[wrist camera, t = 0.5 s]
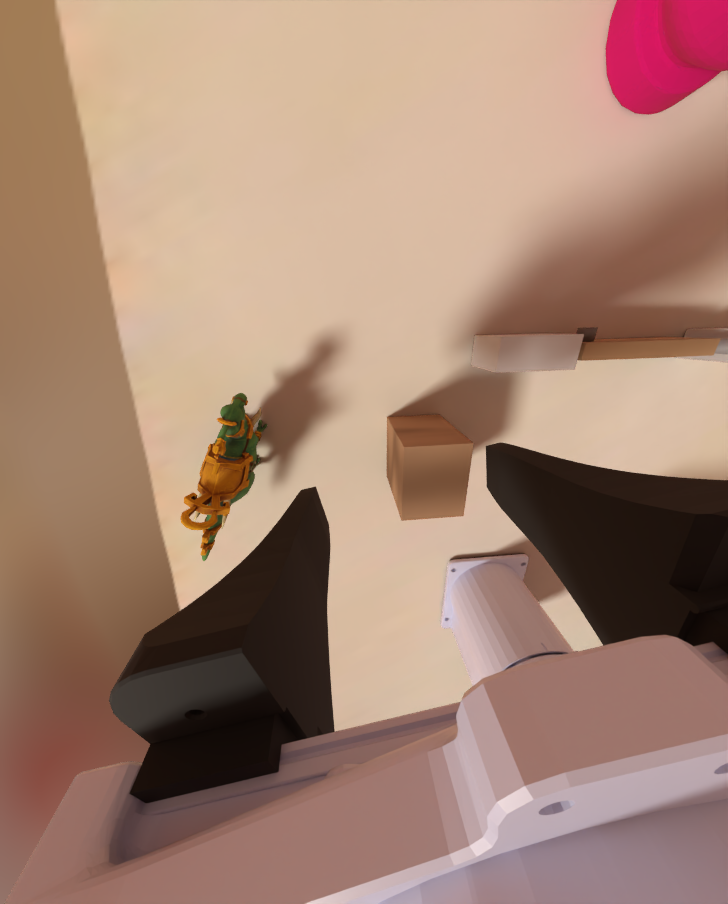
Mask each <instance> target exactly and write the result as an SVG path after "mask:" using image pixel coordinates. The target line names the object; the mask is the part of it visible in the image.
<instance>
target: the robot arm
mask: <svg viewBox="0 0 728 904" xmlns="http://www.w3.org/2000/svg"><path fill="white" fill-rule="evenodd" d="M486 469H487V488H488V490H489V491H490V493H491V494H492V496H493V497H494V499H495V500H496V502H497V503H498V505H499V506H500V507H501V509H502V510H503V511H504V512H505V513H506V514H507V515H508V517H509V518H510V519H511V520H512V521H513V522H514V523H515V524H516V526H517V527H518V528H519V529H520V530H521V531H522V532H523V533H524V534H525V536H526V537H527V538H528V539H529V540H530V541H531V542H532V543H533V545H534V546H535V547H536V548H537V549H538V550H539V552H540V553H541V554H542V555H543V556H544V558H545V559H546V560H547V562H548V563H549V565H550V566H551V567H552V569H553V570H554V572H555V573H556V574H557V576H558V577H559V578H560V580H561V581H562V583H563V584H564V586H565V587H566V589H567V590H568V592H569V593H570V594H571V596H572V597H573V599H574V600H575V602H576V603H577V605H578V606H579V608H580V609H581V611H582V612H583V614H584V616H585V617H586V619H587V620H588V622H589V623H590V625H591V626H592V628H593V630H594V631H595V633H596V634H597V636H598V637H599V639H600V641H601V642H602V644H603V646H600V647H596V648H592V649H587V650H583V651H573V649H572V648H571V647H570V645H569V644H568V643H567V641H566V640H565V638H564V637H563V636H562V634H561V633H560V632H559V630H558V629H557V627H556V626H555V625H554V623H553V622H552V621H551V619H550V618H549V616H548V615H547V614H546V612H545V611H544V610H543V608H542V607H541V606H540V604H539V603H538V601H537V600H536V599H535V597H534V596H533V595H532V593H531V592H530V590H529V589H528V588H527V586H526V585H525V584H524V582H523V579H524V576H525V572H526V568H527V565H528V561H529V558H528V556H527V555H526V554H517V555H505V556H493V557H481V558H469V559H457V560H451V561H449V563H448V567H447V575H446V583H445V591H444V599H443V608H442V616H441V626H442V628H451V629H452V632H453V634H454V637H455V640H456V642H457V645H458V648H459V650H460V653H461V656H462V658H463V661H464V664H465V666H466V669H467V672H468V674H469V677H470V680H471V682H472V685H473V687H471V688H470V689H469V690H468V691H466V692H465V693H464V696H463V698H462V701H461V702H458V703H454V704H450V705H445V706H441V707H437V708H433V709H429V710H424V711H420V712H416V713H412V714H408V715H403V716H399V717H395V718H391V719H387V720H382V721H378V722H374V723H370V724H366V725H361V726H357V727H353V728H349V729H345V730H340V731H336V732H334V720H333V708H332V695H331V680H330V665H329V646H328V623H327V593H328V578H329V562H330V533H329V524H328V521H327V518H326V515H325V512H324V509H323V506H322V504H321V501H320V498H319V495H318V492H317V489H316V487H312V488H308V489H304V490H301V491H300V492H299V494H298V495H297V496H296V498H295V499H294V501H293V502H292V504H291V505H290V506H289V508H288V509H287V510H286V512H285V513H284V515H283V516H282V517H281V519H280V520H279V521H278V522H277V524H276V525H275V526H274V527H273V529H272V530H271V531H270V532H269V533H268V535H267V536H266V537H265V538H264V539H263V541H262V542H261V543H260V544H259V545H258V546H257V547H256V548H255V549H254V550H253V551H252V552H251V553H250V554H249V555H248V556H247V557H246V558H245V559H244V560H243V561H242V562H241V563H240V564H239V565H238V566H237V567H235V568H234V569H233V570H232V571H231V572H230V573H229V574H227V575H226V576H225V577H224V578H223V579H222V580H221V581H219V582H218V583H217V584H216V585H214V586H213V587H212V588H211V589H209V590H208V591H207V592H206V593H204V594H203V595H202V596H200V597H199V598H198V599H196V600H195V601H194V602H192V603H191V604H189V605H188V606H187V607H185V608H184V609H182V610H181V611H179V612H178V613H176V614H175V615H173V616H172V617H170V618H169V619H167V620H166V621H165V622H163V623H161V624H160V625H158V626H157V627H155V628H154V629H152V630H151V631H149V632H148V633H146V634H145V635H144V637H143V638H142V640H141V642H140V643H139V645H138V647H137V649H136V650H135V652H134V654H133V655H132V657H131V659H130V660H129V662H128V664H127V665H126V667H125V669H124V671H123V672H122V674H121V675H120V677H119V679H118V681H117V682H116V684H115V686H114V687H113V689H112V691H111V694H110V699H109V702H110V705H111V708H112V710H113V713H114V714H115V715H116V716H117V717H118V718H119V720H121V721H122V722H123V723H124V724H125V725H127V726H128V727H129V728H131V729H132V730H133V731H135V732H136V733H137V734H138V735H140V736H141V737H142V738H144V739H145V740H146V741H148V742H149V743H150V747H149V749H148V752H147V754H146V756H145V758H144V761H143V763H140V762H132V761H131V762H123V763H118V764H114V765H110V766H105V767H101V768H98V769H93V770H89V771H85V772H81V773H80V774H78V775H77V776H76V777H75V778H74V780H73V782H72V784H71V785H70V787H69V789H68V791H67V793H66V794H65V796H64V798H63V800H62V801H61V803H60V805H59V807H58V809H57V810H56V812H55V814H54V816H53V817H52V819H51V821H50V823H49V825H48V826H47V828H46V830H45V832H44V834H43V835H42V837H41V839H40V841H39V842H38V844H37V846H36V848H35V850H34V851H33V853H32V855H31V857H30V859H29V860H28V862H27V864H26V866H25V867H24V869H23V871H22V873H21V875H20V877H19V878H18V880H17V882H16V883H15V885H14V887H13V889H12V891H11V892H10V894H9V896H8V898H7V900H6V902H5V903H4V904H728V480H707V479H691V478H678V477H666V476H657V475H648V474H639V473H632V472H625V471H618V470H613V469H607V468H601V467H596V466H591V465H586V464H582V463H577V462H573V461H569V460H565V459H561V458H557V457H553V456H550V455H546V454H542V453H539V452H535V451H532V450H529V449H525V448H522V447H518V446H514V445H510V444H506V443H496V444H492V445H488V446H486ZM453 568H454V569H453Z"/></svg>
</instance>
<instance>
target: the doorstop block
mask: <svg viewBox="0 0 728 904" xmlns="http://www.w3.org/2000/svg"><path fill="white" fill-rule="evenodd" d="M473 444H474V443H473V442H471V441H470V440H469V439H468V438H467V437H466V436H464V435H463V434H462V433H461V432H460V431H458V430H457V429H456V428H455V427H454V426H452V425H451V424H450V423H449V422H448V421H446V420H445V419H444V418H443V417H442V416H441V415H439V414H437V415H417V416H397V417H387V478H388V481H389V484H390V487H391V490H392V493H393V496H394V499H395V502H396V505H397V508H398V511H399V514H400V517H401V520H416V519H429V518H443V517H456V516H464V508H465V501H466V494H467V487H468V480H469V473H470V465H471V458H472V451H473Z"/></svg>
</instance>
